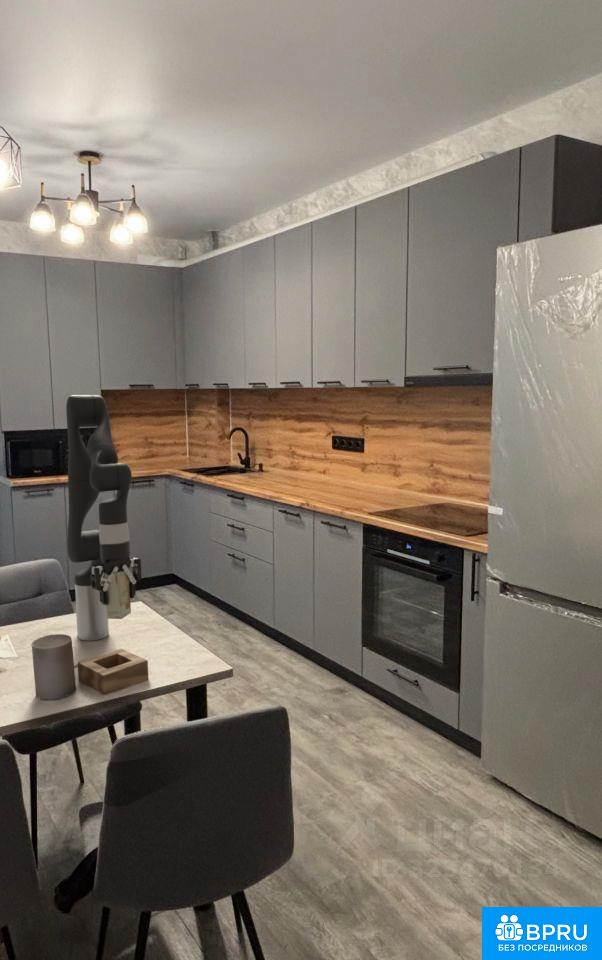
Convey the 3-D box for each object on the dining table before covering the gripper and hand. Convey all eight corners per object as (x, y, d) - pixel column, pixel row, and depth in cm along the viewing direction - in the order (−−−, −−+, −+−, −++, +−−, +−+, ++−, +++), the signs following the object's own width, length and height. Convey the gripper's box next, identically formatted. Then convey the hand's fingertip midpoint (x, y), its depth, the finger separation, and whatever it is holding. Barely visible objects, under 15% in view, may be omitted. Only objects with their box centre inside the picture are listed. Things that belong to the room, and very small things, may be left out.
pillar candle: (68, 681, 187) (63, 626, 185) (81, 693, 179) (77, 636, 177) (30, 691, 181) (25, 635, 179) (42, 704, 173) (37, 645, 171)
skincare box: (121, 619, 184) (119, 573, 183) (106, 619, 185) (103, 573, 184) (132, 612, 190) (129, 567, 189) (116, 611, 191) (114, 567, 190)
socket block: (78, 681, 187) (77, 661, 186) (121, 666, 196) (120, 648, 195) (104, 695, 178) (103, 675, 177) (148, 679, 187) (147, 660, 186)
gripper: (129, 533, 193) (133, 592, 195) (82, 542, 183) (86, 604, 184) (145, 536, 188) (149, 597, 190) (97, 546, 178) (101, 610, 179)
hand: (118, 601), depth 187 cm, fingers closed on skincare box, 7 cm apart
